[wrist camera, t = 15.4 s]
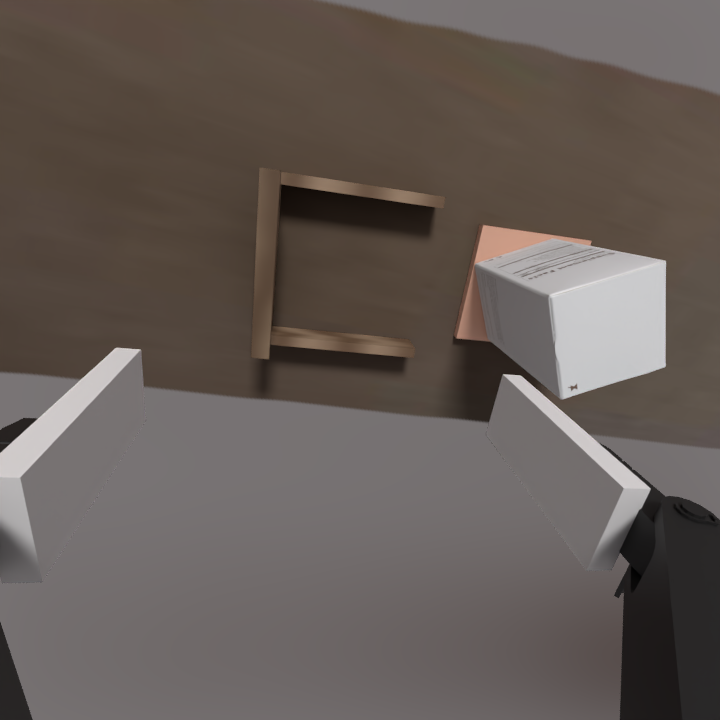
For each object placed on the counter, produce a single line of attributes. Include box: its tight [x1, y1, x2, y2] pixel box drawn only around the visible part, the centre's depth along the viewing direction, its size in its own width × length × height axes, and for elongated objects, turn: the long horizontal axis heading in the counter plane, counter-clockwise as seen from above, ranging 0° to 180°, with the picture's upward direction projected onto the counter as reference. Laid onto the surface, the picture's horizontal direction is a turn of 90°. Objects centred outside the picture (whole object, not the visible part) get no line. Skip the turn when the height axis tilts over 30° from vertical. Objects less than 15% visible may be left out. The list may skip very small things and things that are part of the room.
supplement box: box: [475, 239, 666, 400], centre depth 38 cm, size 9×9×15 cm
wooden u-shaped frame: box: [251, 168, 446, 359], centre depth 40 cm, size 16×16×7 cm
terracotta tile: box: [454, 225, 591, 342], centre depth 45 cm, size 12×12×1 cm
